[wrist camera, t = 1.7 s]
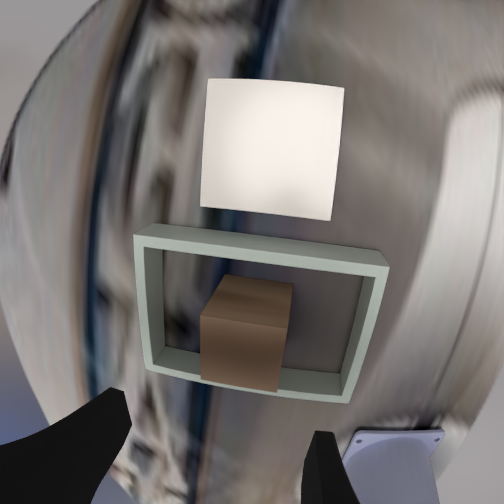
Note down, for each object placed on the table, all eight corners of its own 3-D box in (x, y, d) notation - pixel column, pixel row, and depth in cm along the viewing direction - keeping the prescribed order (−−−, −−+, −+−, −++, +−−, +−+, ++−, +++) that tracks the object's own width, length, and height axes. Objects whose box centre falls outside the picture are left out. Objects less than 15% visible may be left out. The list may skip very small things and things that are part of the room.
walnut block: (284, 339, 20) (276, 392, 15) (223, 329, 21) (200, 379, 16) (293, 282, 19) (287, 328, 14) (225, 273, 19) (200, 315, 15)
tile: (329, 218, 17) (330, 221, 17) (203, 204, 18) (200, 206, 18) (343, 89, 15) (344, 88, 14) (211, 80, 16) (208, 78, 15)
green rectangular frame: (346, 378, 20) (348, 403, 18) (159, 348, 22) (145, 369, 20) (379, 250, 17) (389, 267, 15) (153, 223, 19) (133, 234, 17)
